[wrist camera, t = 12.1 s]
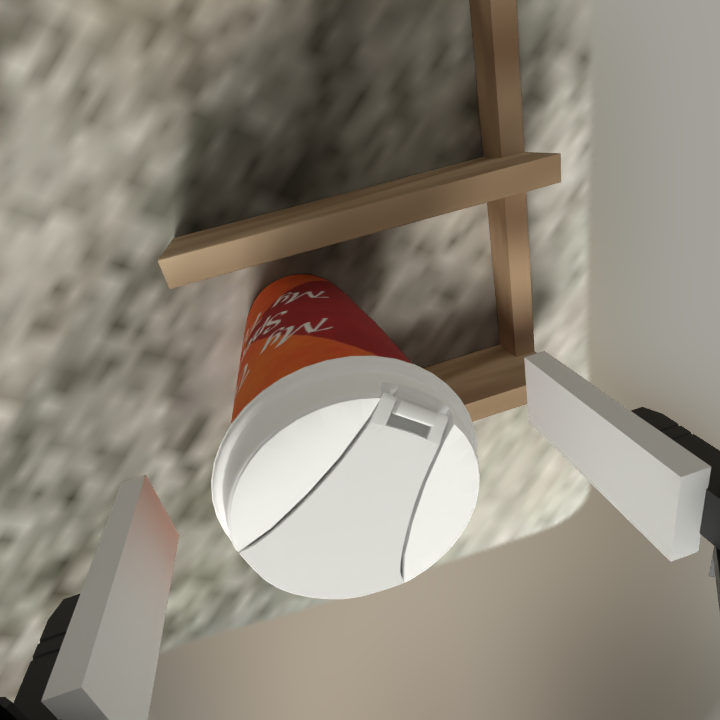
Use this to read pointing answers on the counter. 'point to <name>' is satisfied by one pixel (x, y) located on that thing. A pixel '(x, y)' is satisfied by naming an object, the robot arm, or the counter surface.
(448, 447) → the coffee cup
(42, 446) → the counter surface
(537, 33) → the counter surface
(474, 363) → the oak rack
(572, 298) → the counter surface
